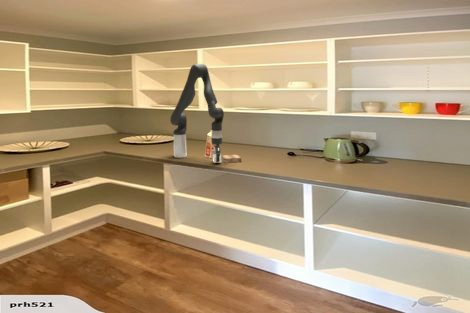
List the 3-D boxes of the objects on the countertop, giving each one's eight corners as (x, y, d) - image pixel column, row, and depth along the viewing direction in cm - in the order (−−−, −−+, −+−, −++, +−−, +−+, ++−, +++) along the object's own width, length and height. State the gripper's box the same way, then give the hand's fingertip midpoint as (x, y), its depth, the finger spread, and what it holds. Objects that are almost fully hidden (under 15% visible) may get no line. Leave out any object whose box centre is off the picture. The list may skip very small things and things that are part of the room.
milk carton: (204, 156, 290) (203, 130, 286) (214, 155, 295) (214, 129, 291) (211, 158, 282) (210, 131, 279) (221, 156, 288) (220, 130, 284)
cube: (214, 162, 263) (214, 154, 262) (212, 161, 267) (212, 152, 266) (221, 162, 264) (221, 153, 263) (219, 160, 269) (219, 152, 267)
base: (224, 162, 266) (224, 158, 265) (221, 159, 277) (221, 155, 277) (241, 161, 268) (241, 157, 268) (237, 158, 280) (237, 154, 279)
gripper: (209, 135, 268) (210, 159, 272) (213, 138, 254) (213, 163, 258) (220, 135, 270) (220, 158, 273) (224, 138, 256) (224, 162, 259)
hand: (217, 160), depth 265 cm, fingers closed on cube, 5 cm apart
